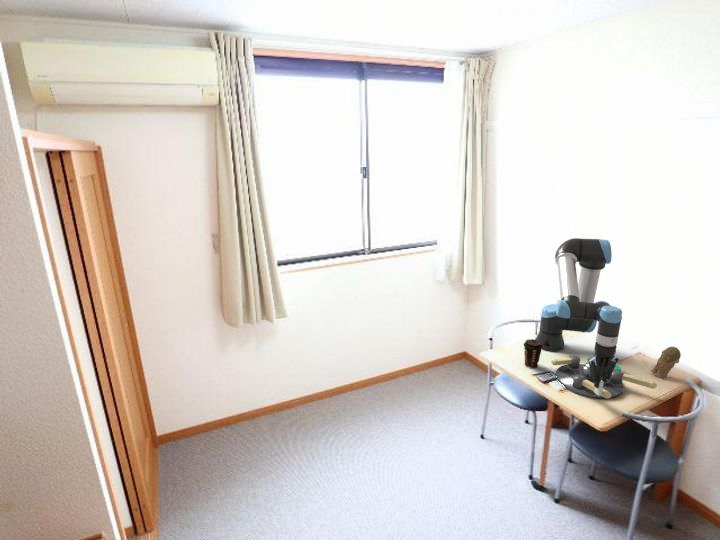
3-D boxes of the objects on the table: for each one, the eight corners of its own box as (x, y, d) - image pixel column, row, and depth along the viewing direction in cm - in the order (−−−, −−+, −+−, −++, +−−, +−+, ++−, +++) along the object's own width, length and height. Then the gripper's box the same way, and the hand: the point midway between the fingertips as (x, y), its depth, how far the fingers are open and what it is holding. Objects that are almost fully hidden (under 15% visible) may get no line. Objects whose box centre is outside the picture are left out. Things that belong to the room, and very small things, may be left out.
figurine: (649, 374, 200) (654, 346, 196) (661, 370, 203) (666, 343, 199) (666, 382, 193) (672, 353, 189) (678, 379, 195) (685, 350, 191)
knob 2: (608, 382, 190) (609, 372, 189) (610, 377, 194) (612, 368, 192) (654, 395, 179) (656, 385, 178) (655, 390, 183) (657, 380, 181)
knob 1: (569, 384, 189) (571, 375, 187) (577, 382, 191) (579, 372, 189) (605, 405, 173) (606, 395, 172) (613, 402, 175) (615, 392, 174)
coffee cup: (533, 360, 216) (535, 337, 212) (544, 367, 208) (546, 344, 205) (518, 362, 214) (520, 339, 210) (529, 370, 206) (531, 346, 202)
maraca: (574, 363, 207) (575, 354, 206) (581, 368, 203) (582, 359, 201) (548, 366, 205) (549, 357, 204) (554, 371, 200) (555, 362, 199)
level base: (543, 370, 206) (545, 352, 203) (593, 364, 210) (596, 347, 208) (581, 402, 179) (584, 382, 177) (638, 395, 184) (642, 375, 181)
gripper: (598, 348, 165) (590, 400, 172) (627, 346, 167) (617, 397, 174) (585, 340, 172) (578, 390, 179) (613, 338, 174) (604, 387, 181)
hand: (597, 393), depth 176 cm, fingers closed
